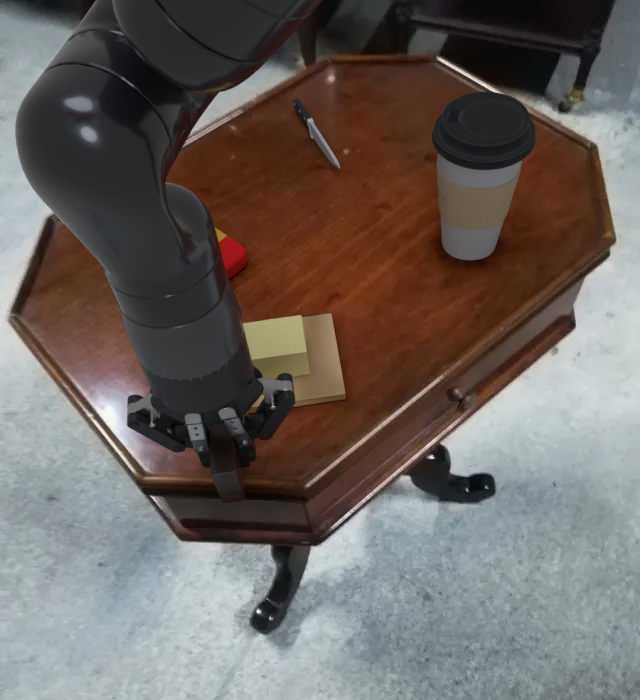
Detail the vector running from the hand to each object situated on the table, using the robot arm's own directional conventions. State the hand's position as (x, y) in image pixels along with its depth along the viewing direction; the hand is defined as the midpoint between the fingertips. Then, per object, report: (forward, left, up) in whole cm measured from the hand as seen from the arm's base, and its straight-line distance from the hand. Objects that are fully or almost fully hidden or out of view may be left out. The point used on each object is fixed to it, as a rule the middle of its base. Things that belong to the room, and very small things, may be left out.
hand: (231, 460), depth 65 cm
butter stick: (-5, -11, -1) cm, 12 cm away
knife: (-13, -44, -2) cm, 46 cm away
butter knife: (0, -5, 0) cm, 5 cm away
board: (-2, -11, -2) cm, 11 cm away
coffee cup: (-27, -24, -2) cm, 36 cm away
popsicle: (+3, -30, -2) cm, 30 cm away
